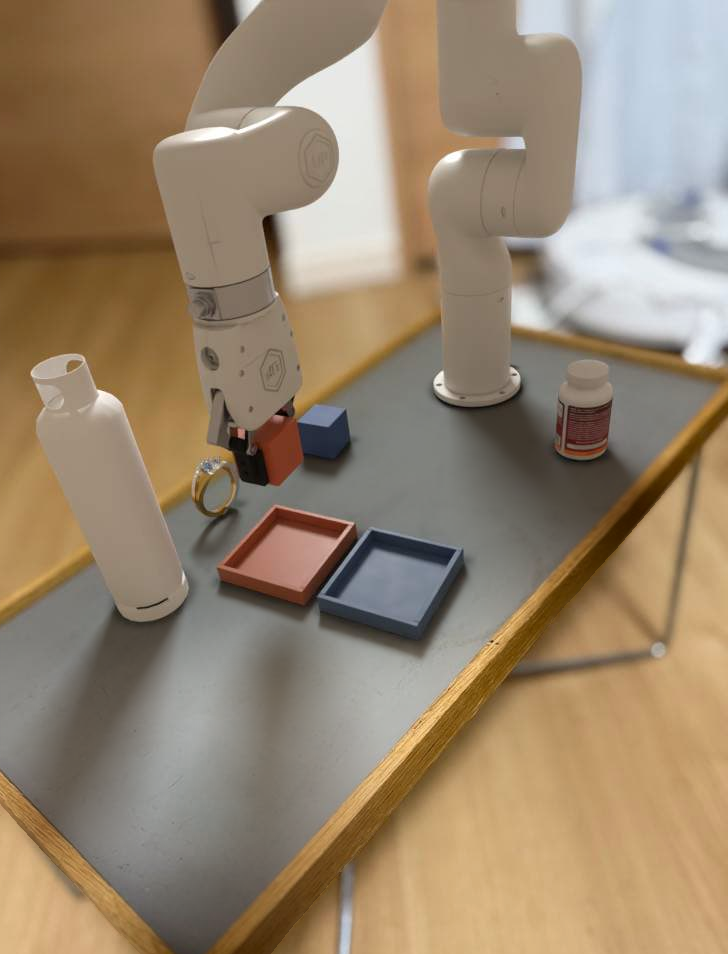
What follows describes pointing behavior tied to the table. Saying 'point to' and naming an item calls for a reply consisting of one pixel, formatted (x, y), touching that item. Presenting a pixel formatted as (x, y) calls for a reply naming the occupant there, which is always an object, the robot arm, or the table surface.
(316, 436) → the blue block
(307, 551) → the terracotta tray
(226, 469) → the ring
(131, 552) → the bottle
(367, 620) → the blue tray
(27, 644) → the table surface
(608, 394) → the pill bottle
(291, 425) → the terracotta block
